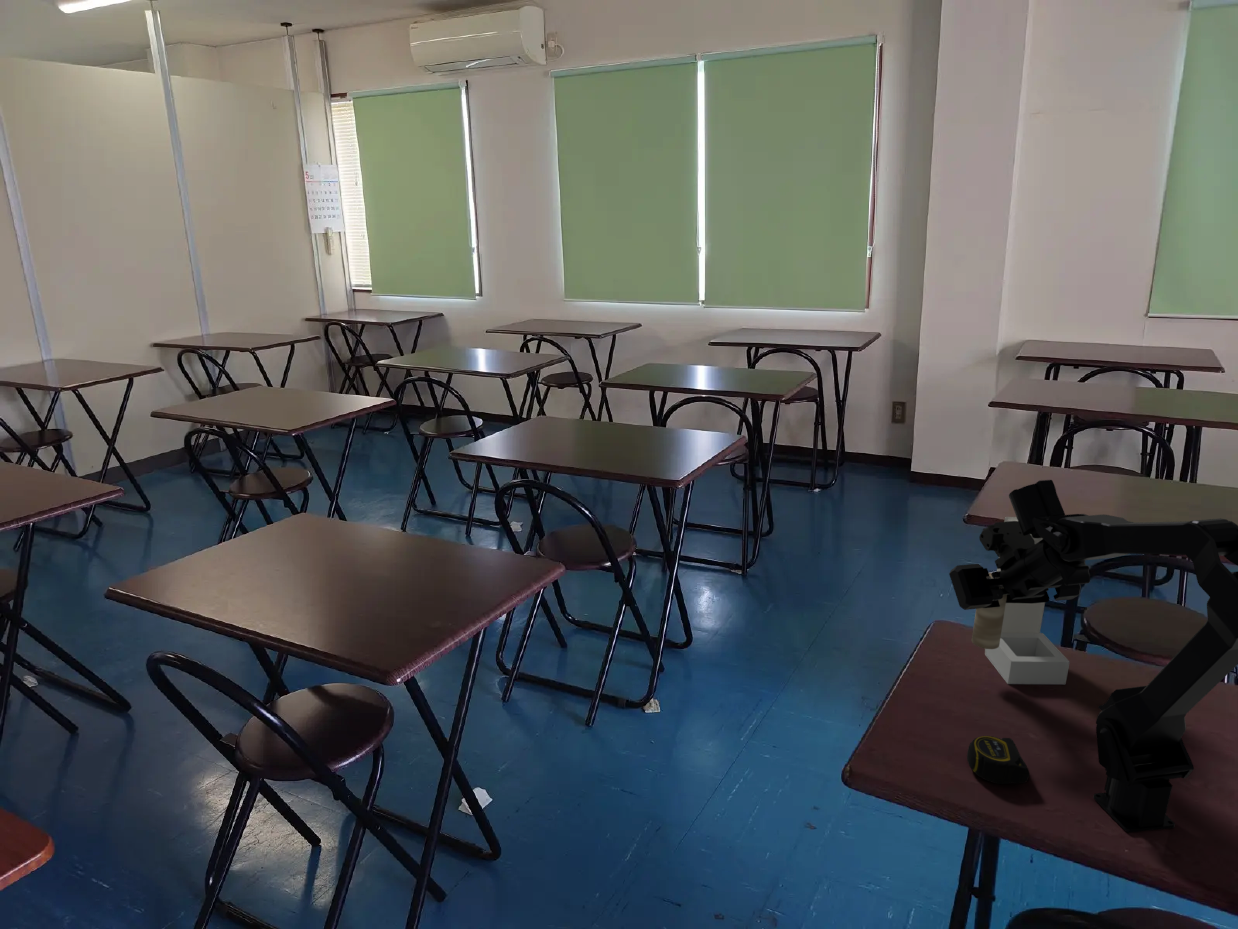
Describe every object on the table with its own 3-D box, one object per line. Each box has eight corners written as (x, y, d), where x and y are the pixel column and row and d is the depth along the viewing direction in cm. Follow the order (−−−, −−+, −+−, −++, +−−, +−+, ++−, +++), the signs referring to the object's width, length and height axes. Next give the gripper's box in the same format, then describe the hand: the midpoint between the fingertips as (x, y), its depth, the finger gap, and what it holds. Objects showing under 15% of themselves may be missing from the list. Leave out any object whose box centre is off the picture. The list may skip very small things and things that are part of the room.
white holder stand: (1065, 684, 133) (1091, 542, 126) (1007, 684, 133) (1030, 542, 126) (1035, 650, 143) (1058, 517, 136) (981, 650, 143) (1001, 516, 136)
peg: (1003, 649, 132) (1014, 584, 128) (978, 649, 132) (987, 584, 128) (992, 636, 136) (1002, 572, 132) (967, 636, 136) (976, 573, 132)
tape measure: (1028, 792, 110) (1032, 767, 109) (972, 787, 111) (976, 762, 109) (1012, 758, 116) (1016, 735, 115) (960, 754, 117) (963, 730, 116)
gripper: (1080, 507, 125) (1021, 548, 138) (964, 516, 121) (915, 557, 135) (1110, 580, 120) (1046, 614, 133) (990, 591, 116) (937, 625, 130)
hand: (985, 600), depth 133 cm, fingers closed on peg, 4 cm apart
